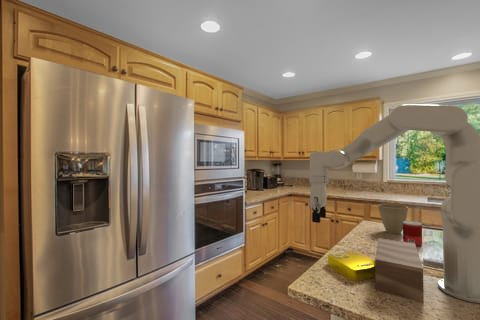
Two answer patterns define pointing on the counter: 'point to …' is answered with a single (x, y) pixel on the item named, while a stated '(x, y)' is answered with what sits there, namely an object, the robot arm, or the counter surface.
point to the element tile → (352, 265)
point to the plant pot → (393, 217)
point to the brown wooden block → (399, 269)
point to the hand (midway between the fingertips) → (319, 219)
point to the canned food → (412, 232)
